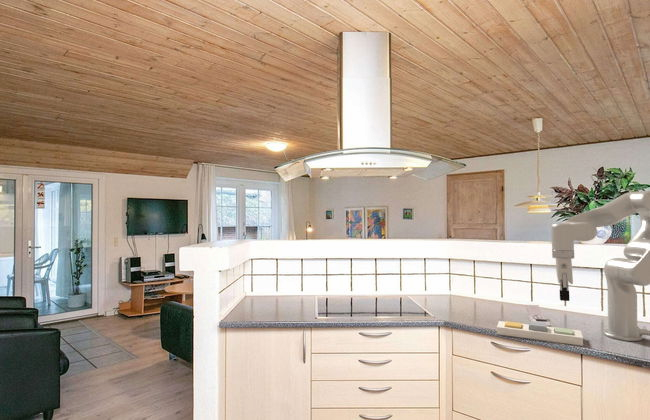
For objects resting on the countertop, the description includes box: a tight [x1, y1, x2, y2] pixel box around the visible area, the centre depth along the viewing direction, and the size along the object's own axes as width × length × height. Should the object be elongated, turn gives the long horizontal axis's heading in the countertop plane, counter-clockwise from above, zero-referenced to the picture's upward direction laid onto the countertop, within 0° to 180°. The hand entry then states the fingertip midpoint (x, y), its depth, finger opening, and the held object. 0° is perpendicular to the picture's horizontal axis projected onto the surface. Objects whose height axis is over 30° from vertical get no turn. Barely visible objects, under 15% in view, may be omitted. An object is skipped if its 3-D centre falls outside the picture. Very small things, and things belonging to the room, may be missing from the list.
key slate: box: [529, 320, 547, 332], centre depth 159 cm, size 6×6×2 cm
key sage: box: [554, 326, 573, 335], centre depth 154 cm, size 6×6×2 cm
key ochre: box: [505, 320, 523, 329], centre depth 163 cm, size 6×6×2 cm
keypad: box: [496, 320, 584, 346], centre depth 159 cm, size 30×10×3 cm, turn 61°
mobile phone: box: [525, 304, 552, 327], centre depth 177 cm, size 6×6×25 cm
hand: (564, 300), depth 154 cm, fingers closed
